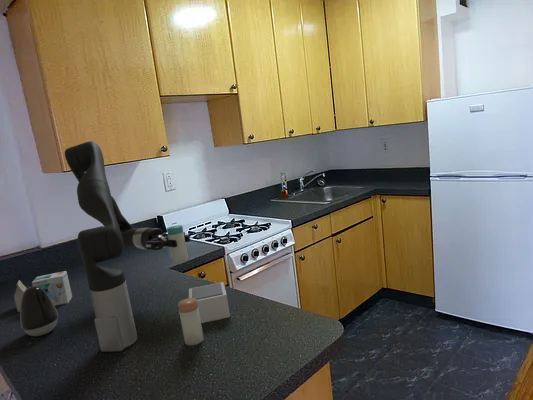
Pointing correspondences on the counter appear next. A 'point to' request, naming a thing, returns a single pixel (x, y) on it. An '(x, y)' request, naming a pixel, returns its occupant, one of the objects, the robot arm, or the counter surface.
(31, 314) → the dark grey rounded pod
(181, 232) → the teal capped canister
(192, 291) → the grey unit
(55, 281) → the light bulb box
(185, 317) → the white spice bottle
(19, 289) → the sunburst logo carton
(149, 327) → the counter surface
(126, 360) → the counter surface
